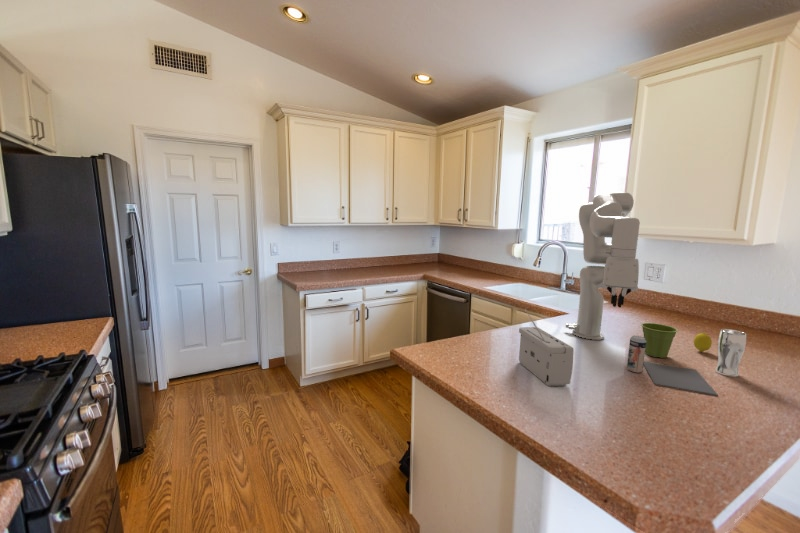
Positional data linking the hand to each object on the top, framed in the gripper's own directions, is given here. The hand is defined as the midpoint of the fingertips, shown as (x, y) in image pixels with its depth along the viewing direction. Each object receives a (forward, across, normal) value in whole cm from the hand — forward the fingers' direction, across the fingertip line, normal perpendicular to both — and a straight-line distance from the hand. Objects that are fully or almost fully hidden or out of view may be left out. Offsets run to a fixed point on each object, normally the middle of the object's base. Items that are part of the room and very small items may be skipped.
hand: (616, 306), depth 126 cm
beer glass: (+22, +37, +13) cm, 45 cm away
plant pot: (+22, +18, +22) cm, 36 cm away
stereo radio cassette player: (+22, -22, -18) cm, 36 cm away
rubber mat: (+22, +20, 0) cm, 29 cm away
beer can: (+22, +8, 0) cm, 24 cm away
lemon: (+22, +36, +35) cm, 55 cm away
